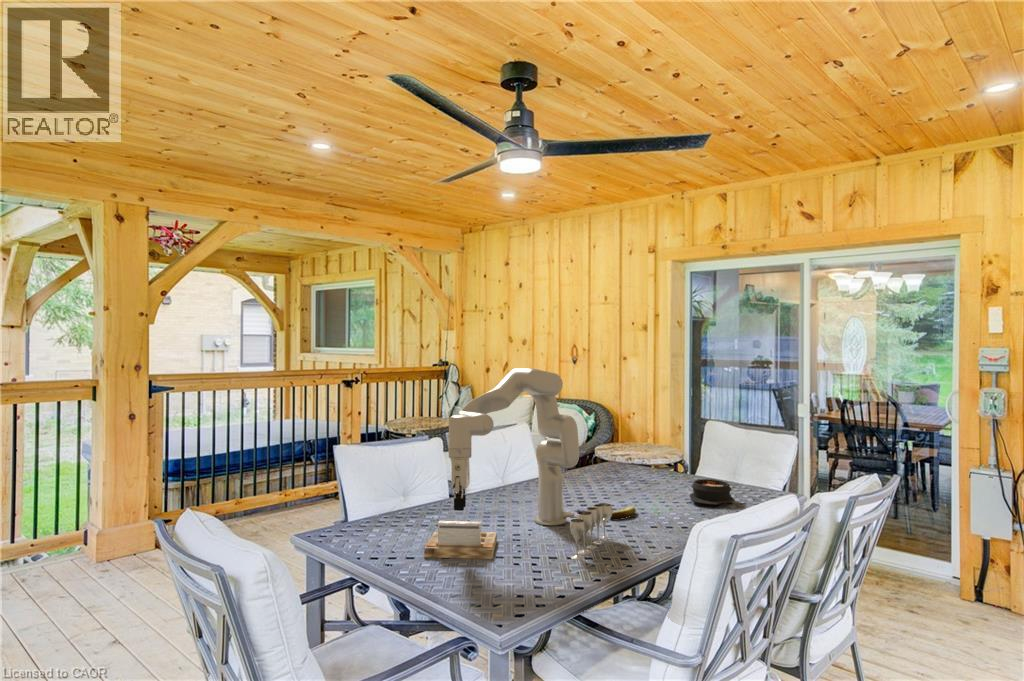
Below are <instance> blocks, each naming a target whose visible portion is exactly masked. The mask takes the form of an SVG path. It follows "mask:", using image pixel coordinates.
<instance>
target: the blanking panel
mask: <svg viewBox="0 0 1024 681" xmlns="http://www.w3.org/2000/svg"><path fill="white" fill-rule="evenodd" d="M437 531H438V547H467V548H481V532H482V521H463V520H462V521H461V520H456V521H455V520H439V521H438V522H437Z"/></svg>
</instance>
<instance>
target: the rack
mask: <svg viewBox="0 0 1024 681" xmlns="http://www.w3.org/2000/svg"><path fill="white" fill-rule="evenodd" d="M497 535H498V534H497V532H496V531H495V532H494V531H481V548H467V547H438V530H434V531H433V534H432V535H431V537H430V538H429V540H428V541H427V543H426V544H425V545H424V546H425V547H424V552H423V553H424V555H423V556H424V558H431V557H433V558H435V559H438V558H439V559H471V560H473V559H477V560H486V559H487V560H492V559H493V557H494V553H495V548H496V545H497V540H498V536H497Z"/></svg>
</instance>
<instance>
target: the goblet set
mask: <svg viewBox="0 0 1024 681" xmlns="http://www.w3.org/2000/svg"><path fill="white" fill-rule="evenodd" d="M613 512H614V511H613V507H612V504H610V503H608V502H601V503H598V504H596V503H595V504H594V505H593V507H591V506H590V507H586V510H581V511H578V512H577V514H576V518H571V520H570V522H569V530H570V534H571V536H572V537H573V539H574V540H575V545H576V554H573V555H570V556H569V558H571V559H572V560H576V561H579V560H580V561H581V560H583V559H584V558H585V556H583V555H584V554H587V555H590V554H589V553H591V554H592V551H591V550H590V549H588V548H596V545H594V544H593V531H594V527H595V525H596V528H597V540H594V542H596V543H602V542H603V541H602V540H600V539H599V535H600V534H599V533H600V526H601V523H603V524H602V525H603V535H601V536H602V537H601V538H603V539H608V538H609V537H610V536H608V537H606V525H607V524H606V523H608V521H609V520H611V519H610V518H611V516H612V514H613ZM589 531H590V544H588V545H589V546H588V545H587V546H588V548H587V549H586V537H587V534H588V532H589ZM582 536H583V537H582ZM581 538H583V549H579V542H580V539H581ZM601 541H602V542H601ZM593 545H594V546H593ZM578 549H579V551H578ZM596 549H597V548H596ZM590 551H591V552H590ZM579 553H580V554H579Z"/></svg>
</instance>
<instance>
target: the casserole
mask: <svg viewBox="0 0 1024 681" xmlns="http://www.w3.org/2000/svg"><path fill="white" fill-rule="evenodd" d="M691 488H692V490H693V492H692V493H690V494H689V498H690V501H692V502H693V503H698V504H702V505H711V506H712V505H714V506H716V505H717V504H718V505H723V504H722V503H724V504H726V503H732V502H733V501H734V498H733V496H732V494H731V491H732V487H731V486H730V484H729V483H728V482H727V481H723V480H718V479H705V478H704V479H697V480H694V481H693V482H692V485H691Z"/></svg>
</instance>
